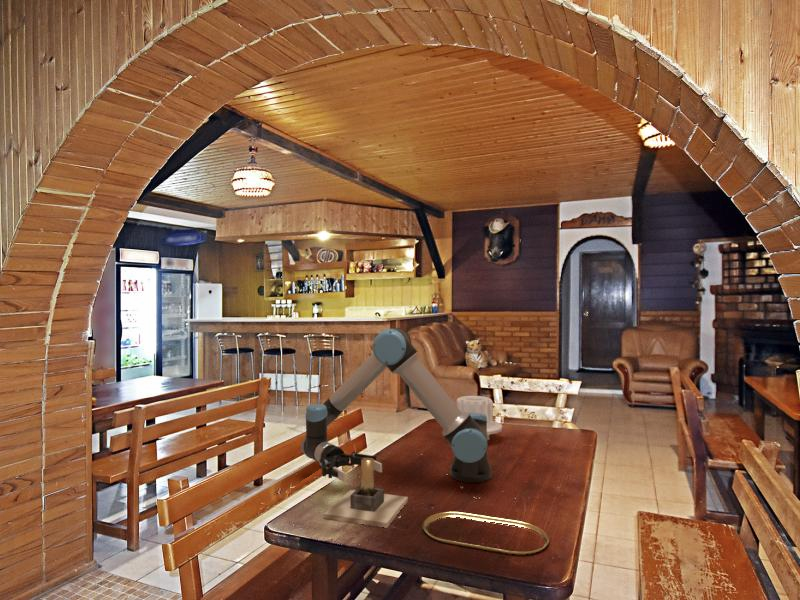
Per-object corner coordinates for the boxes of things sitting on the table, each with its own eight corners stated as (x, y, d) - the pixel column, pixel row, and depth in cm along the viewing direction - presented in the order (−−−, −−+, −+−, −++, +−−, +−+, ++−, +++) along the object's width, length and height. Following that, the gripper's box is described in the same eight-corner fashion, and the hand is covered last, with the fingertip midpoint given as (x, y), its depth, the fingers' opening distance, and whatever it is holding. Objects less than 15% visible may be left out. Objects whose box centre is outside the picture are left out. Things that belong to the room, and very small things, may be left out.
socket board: (407, 501, 167) (407, 484, 167) (386, 528, 148) (386, 509, 148) (350, 494, 173) (350, 477, 173) (323, 518, 154) (323, 500, 154)
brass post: (375, 503, 162) (375, 458, 162) (370, 507, 158) (371, 462, 158) (363, 501, 163) (364, 457, 163) (358, 506, 160) (359, 460, 160)
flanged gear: (513, 439, 237) (513, 398, 237) (479, 451, 220) (479, 407, 220) (470, 429, 255) (470, 391, 255) (436, 439, 238) (436, 398, 238)
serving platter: (545, 563, 130) (545, 557, 130) (413, 540, 142) (413, 534, 142) (551, 531, 147) (551, 526, 147) (433, 513, 159) (433, 508, 159)
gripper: (360, 459, 186) (395, 476, 170) (296, 473, 171) (328, 493, 154) (360, 438, 186) (395, 453, 169) (296, 451, 171) (328, 468, 154)
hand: (363, 472), depth 162 cm, fingers open, 13 cm apart
